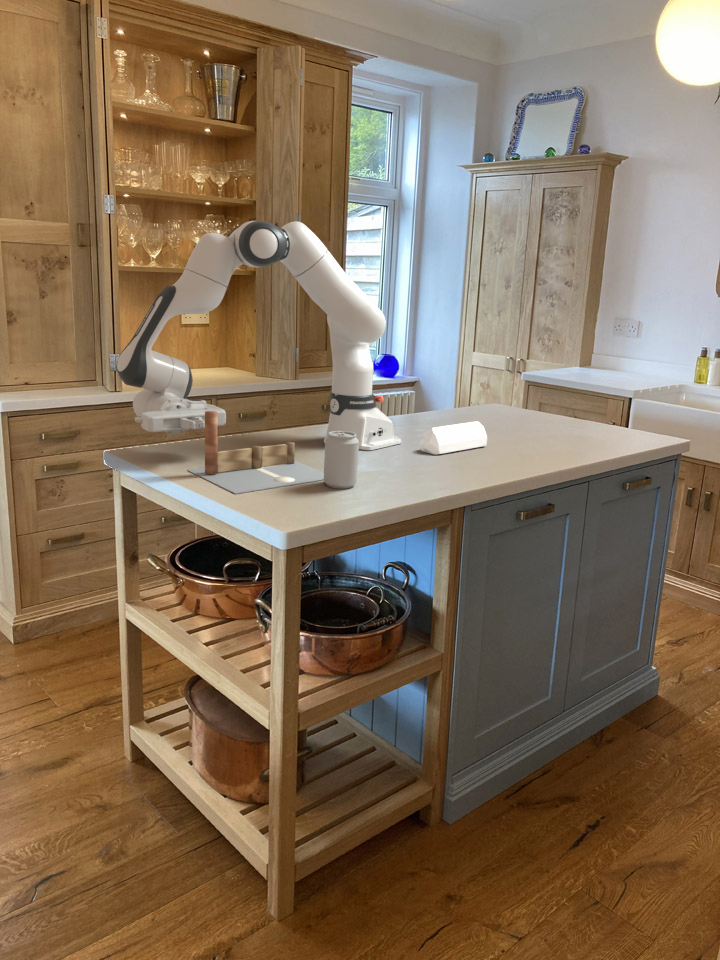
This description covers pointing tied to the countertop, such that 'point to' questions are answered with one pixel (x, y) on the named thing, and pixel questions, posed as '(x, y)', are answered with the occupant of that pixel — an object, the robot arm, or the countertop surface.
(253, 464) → the fixed rail
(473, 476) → the countertop surface
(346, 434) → the can
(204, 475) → the card
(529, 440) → the countertop surface
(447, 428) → the white chamfered prism
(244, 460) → the rail
